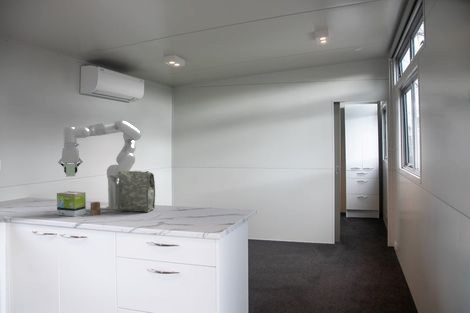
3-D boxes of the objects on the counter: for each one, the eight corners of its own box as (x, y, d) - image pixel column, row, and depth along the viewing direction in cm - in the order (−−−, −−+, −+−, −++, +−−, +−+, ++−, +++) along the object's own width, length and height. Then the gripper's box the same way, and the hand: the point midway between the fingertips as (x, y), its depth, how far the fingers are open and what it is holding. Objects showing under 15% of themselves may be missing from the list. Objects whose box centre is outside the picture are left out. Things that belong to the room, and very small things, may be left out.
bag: (156, 207, 242) (157, 169, 239) (147, 213, 226) (148, 172, 223) (126, 205, 244) (126, 167, 242) (115, 210, 228) (116, 170, 226)
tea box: (56, 215, 221) (56, 192, 220) (68, 212, 230) (68, 191, 230) (74, 216, 216) (74, 193, 216) (86, 213, 225) (86, 191, 225)
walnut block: (98, 213, 226) (98, 201, 225) (100, 214, 221) (100, 202, 221) (90, 214, 223) (90, 202, 223) (92, 215, 219) (92, 203, 219)
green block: (75, 175, 226) (75, 163, 225) (74, 176, 221) (74, 164, 221) (67, 175, 224) (67, 163, 224) (66, 176, 219) (65, 164, 219)
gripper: (85, 145, 228) (85, 172, 229) (56, 145, 223) (57, 173, 223) (83, 145, 221) (84, 173, 222) (54, 145, 216) (55, 174, 216)
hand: (70, 173), depth 223 cm, fingers closed on green block, 5 cm apart
